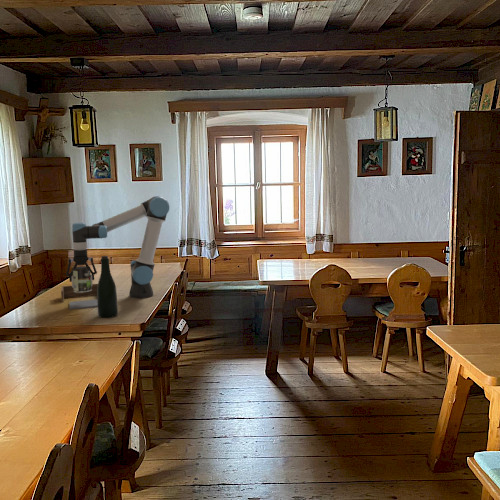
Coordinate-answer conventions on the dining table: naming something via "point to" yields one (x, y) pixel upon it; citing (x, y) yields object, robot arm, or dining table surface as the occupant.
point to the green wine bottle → (106, 292)
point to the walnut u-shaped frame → (69, 292)
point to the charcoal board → (83, 304)
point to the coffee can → (81, 279)
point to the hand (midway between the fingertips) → (82, 286)
